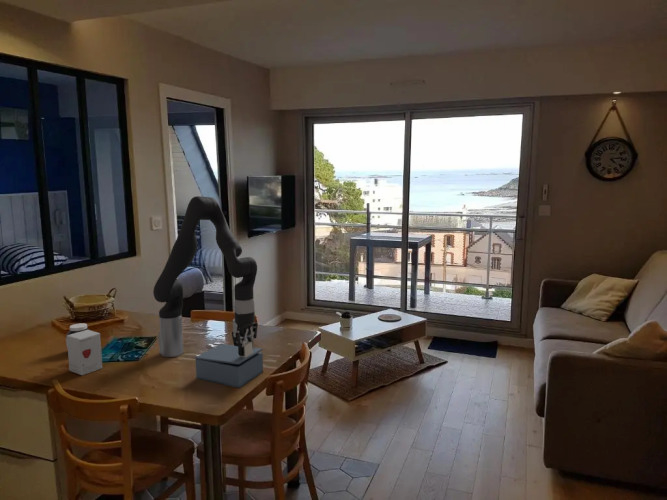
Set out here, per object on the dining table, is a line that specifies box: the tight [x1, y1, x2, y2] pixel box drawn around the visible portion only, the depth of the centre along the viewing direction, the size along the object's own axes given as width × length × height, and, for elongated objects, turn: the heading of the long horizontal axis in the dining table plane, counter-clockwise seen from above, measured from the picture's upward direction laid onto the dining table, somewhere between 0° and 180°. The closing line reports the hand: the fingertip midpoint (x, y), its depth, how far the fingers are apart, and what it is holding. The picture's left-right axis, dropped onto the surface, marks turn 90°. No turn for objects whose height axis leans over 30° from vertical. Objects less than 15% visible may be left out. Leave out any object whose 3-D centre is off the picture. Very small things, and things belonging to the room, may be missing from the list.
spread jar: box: [65, 322, 90, 350], centre depth 209 cm, size 12×11×12 cm
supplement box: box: [66, 329, 103, 376], centre depth 190 cm, size 9×9×15 cm
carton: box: [195, 351, 264, 389], centre depth 186 cm, size 20×16×8 cm
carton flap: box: [194, 341, 263, 365], centre depth 185 cm, size 20×16×5 cm
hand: (245, 352), depth 182 cm, fingers closed on carton flap, 5 cm apart
